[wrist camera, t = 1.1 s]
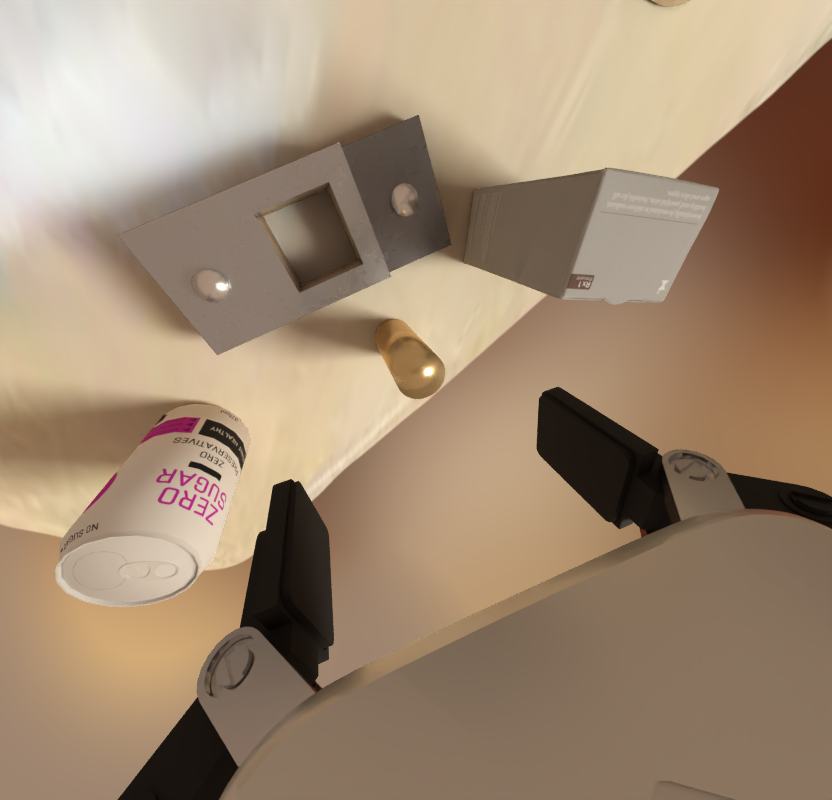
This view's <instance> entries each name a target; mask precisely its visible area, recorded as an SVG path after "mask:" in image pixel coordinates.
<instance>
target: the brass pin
mask: <svg viewBox="0 0 832 800" xmlns="http://www.w3.org/2000/svg"><path fill="white" fill-rule="evenodd" d="M375 343H376V346H377V348H378V350H379V352H380V353H381V355H382V357H383V359H384V361H385V363H386V365H387V367H388V369H389V371H390V372H391V374H392V376H393V378H394V380H395V382H396V384H397V386H398V388H399V389H400V391H401V392H402V393H403V394H404V395H406V396H407V397H410V398H414V399H421V398H425V397H428V396H430V395H432V394H433V393H435V392H436V391H437V390H438V389H439V388H440V386H441V385H442V383H443V381H444V377H445V368H444V364H443V362H442V361H441V360H440V358H439V357H438V356H437V355H436V354H435V353H434V352H433V351H432V350H431V349H430V348H429V347H428V346H427V345H426V344H425V343H424V342H423V341H422V340H421V339H420V338H419V337H418V336H417V335H416V333H415V332H414V331H413V330H412V329H411V328H410V327H409V326H408V325H407V324H406V323H405V322H403V321H401V320H398V319H390V320H387V321H385V322H383V323H382V324H381V325H380V326H379V327H378V329H377V331H376V333H375Z"/></svg>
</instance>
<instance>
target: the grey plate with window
mask: <svg viewBox="0 0 832 800" xmlns="http://www.w3.org/2000/svg"><path fill="white" fill-rule="evenodd" d="M325 189H328V192H329V194H330V196H331V199H332V201H333V203H334V206H335V208H336V210H337V213H338V215H339V217H340V220H341V222H342V224H343V227H344V229H345V231H346V234H347V236H348V238H349V241H350V243H351V245H352V248H353V250H354V252H355V254H356V257H357V259H358V260H356V261H354V262H352V263H350V264H347V265H345V266H343V267H341V268H338V269H336V270H334V271H332V272H330V273H327V274H325V275H323V276H321V277H318V278H316V279H314V280H312V281H309V282H307V283H305V284H303V285H301V283H300V282H299V280H298V278H297V276H296V275H295V273H294V271H293V269H292V267H291V266H290V264H289V262H288V260H287V258H286V257H285V255H284V253H283V251H282V250H281V248H280V246H279V244H278V242H277V241H276V239H275V237H274V235H273V234H272V232H271V230H270V228H269V226H268V225H267V223H266V221H265V219H264V217H263V216H265V215H267V214H269V213H272V212H274V211H276V210H279V209H281V208H283V207H286V206H288V205H290V204H293V203H295V202H297V201H300V200H302V199H304V198H307V197H309V196H311V195H314V194H316V193H318V192H321V191H323V190H325ZM117 236H118V237H119V238H120V239H121V241H122V242H123V243H124V244H125V245H126V247H127V248H128V249H129V250H130V251H131V253H132V254H133V255H134V256H135V257H136V259H137V260H138V261H139V262H140V263H141V265H142V266H143V267H144V268H145V269H146V271H147V272H148V273H149V274H150V275H151V277H152V278H153V279H154V280H155V281H156V282H157V284H158V285H159V286H160V287H161V288H162V290H163V291H164V292H165V293H166V294H167V296H168V297H169V298H170V299H171V300H172V302H173V303H174V304H175V305H176V306H177V308H178V309H179V310H180V311H181V312H182V314H183V315H184V316H185V317H186V318H187V320H188V321H189V322H190V323H191V324H192V325H193V327H194V328H195V329H196V330H197V331H198V333H199V334H200V335H201V336H202V337H203V339H204V340H205V341H206V342H207V343H208V345H209V346H210V347H211V348H212V349H213V351H214V352H215V353H216V354H217V355H219V354H221V353H223V352H225V351H228V350H230V349H232V348H234V347H236V346H239V345H241V344H243V343H245V342H247V341H250V340H252V339H254V338H256V337H259V336H261V335H263V334H265V333H267V332H270V331H272V330H274V329H276V328H278V327H281V326H283V325H285V324H287V323H289V322H292V321H294V320H296V319H298V318H301V317H303V316H305V315H307V314H309V313H312V312H314V311H316V310H318V309H320V308H323V307H325V306H327V305H329V304H331V303H334V302H336V301H338V300H340V299H342V298H345V297H347V296H349V295H351V294H354V293H356V292H358V291H360V290H362V289H365V288H367V287H369V286H371V285H373V284H376V283H378V282H380V281H382V280H384V279H387V278H389V277H391V275H390V273H389V272H391V271H393V270H395V269H398V268H400V267H402V266H404V265H406V264H409V263H411V262H413V261H415V260H417V259H420V258H422V257H424V256H426V255H429V254H431V253H433V252H435V251H437V250H440V249H442V248H444V247H446V246H448V245H451V241H450V237H449V233H448V229H447V226H446V222H445V218H444V214H443V210H442V206H441V202H440V198H439V194H438V190H437V186H436V182H435V178H434V174H433V170H432V166H431V162H430V158H429V154H428V150H427V146H426V142H425V138H424V134H423V130H422V126H421V122H420V118H419V115H417V116H415V117H412V118H410V119H407V120H405V121H403V122H400V123H398V124H396V125H393V126H391V127H388V128H386V129H384V130H381V131H379V132H377V133H374V134H372V135H369V136H367V137H365V138H362V139H360V140H358V141H355V142H353V143H351V144H348V145H346V146H343V147H341V144H340V142H338V143H336V144H334V145H331V146H329V147H326V148H324V149H322V150H319V151H317V152H315V153H312V154H310V155H307V156H305V157H303V158H300V159H298V160H296V161H293V162H291V163H288V164H286V165H284V166H281V167H279V168H277V169H274V170H272V171H269V172H267V173H265V174H262V175H260V176H257V177H255V178H253V179H250V180H248V181H246V182H243V183H241V184H238V185H236V186H234V187H231V188H229V189H227V190H224V191H222V192H219V193H217V194H215V195H212V196H210V197H207V198H205V199H203V200H200V201H198V202H196V203H193V204H191V205H188V206H186V207H184V208H181V209H179V210H177V211H174V212H172V213H169V214H167V215H165V216H162V217H160V218H157V219H155V220H153V221H150V222H148V223H146V224H143V225H141V226H138V227H136V228H134V229H131V230H129V231H127V232H124V233H122V234H119V235H117Z"/></svg>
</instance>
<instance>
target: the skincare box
mask: <svg viewBox="0 0 832 800" xmlns="http://www.w3.org/2000/svg"><path fill="white" fill-rule="evenodd" d="M718 191H719V188H716V187H712V186H707V185H702V184H698V183H693V182H688V181H682V180H678V179H673V178H668V177H663V176H657V175H651V174H646V173H640V172H634V171H627V170H621V169H614V168H605V169H602V170H597V171H590V172H584V173H579V174H573V175H567V176H561V177H554V178H547V179H540V180H534V181H527V182H520V183H514V184H507V185H499V186H494V187H486V188H480V189H475V190H474V193H473V201H472V208H471V215H470V222H469V229H468V235H467V242H466V249H465V256H464V263H465V264H469V265H472V266H474V267H477V268H480V269H482V270H485V271H488V272H490V273H493V274H495V275H498V276H501V277H504V278H506V279H509V280H512V281H515V282H517V283H519V284H522V285H524V286H527V287H530V288H532V289H535V290H537V291H540V292H543V293H545V294H548V295H551V296H553V297H556V298H559V299H574V300H605V301H606V302H607V303H610V304H620V303H623V302H625V301H627V302H657V303H658V302H662V301H663V300H664V299H665V297H666V295H667V293H668V291H669V289H670V287H671V285H672V283H673V281H674V279H675V277H676V275H677V273H678V271H679V269H680V267H681V265H682V264H683V261H684V260H685V258H686V256H687V254H688V252H689V250H690V248H691V246H692V244H693V242H694V241H695V239H696V237H697V235H698V233H699V231H700V229H701V228H702V225H703V224H704V222H705V220H706V218H707V216H708V214H709V212H710V209H711V208H712V205H713V203H714V201H715V199H716V196H717V194H718Z"/></svg>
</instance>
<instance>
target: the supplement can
mask: <svg viewBox="0 0 832 800" xmlns="http://www.w3.org/2000/svg"><path fill="white" fill-rule="evenodd" d="M249 444H250V436H249V431H248V428H247V427H246V426H245V424H244V423H243V422H242V420H241V419H240V418H238V417H237V416H235V415H234V414H232V413H231V412H229V411H228V410H225V409H222V408H219V407H216V406H213V405H204V404H190V405H185V406H180V407H176V408H175V409H173V410H171V411H169V412H168V413H166V414H164V415H163V416H162V418H161V419H160V420H159V421H158V422H157V424H156V425H155V426H154V427H153V428H152V430H151V431H150V432H149V433H148V435H147V436H146V437H145V438H144V439H143V441H142V442H141V443H140V444H139V445H138V447H137V448H136V449H135V450H134V451H133V453H132V454H131V455H130V456H129V458H128V459H127V460H126V461H125V462H124V464H123V465H122V466H121V467H120V468H119V470H118V471H117V472H116V473H115V475H114V476H113V477H112V478H111V479H110V481H109V482H108V483H107V484H106V485H105V487H104V488H103V489H102V490H101V492H100V493H99V494H98V495H97V496H96V498H95V499H94V500H93V501H92V502H91V504H90V505H89V506H88V507H87V508H86V510H85V511H84V512H83V513H82V515H81V516H80V517H79V518H78V519H77V521H76V522H75V523H74V524H73V525H72V527H71V528H70V529H69V531H68V532H67V533H66V535H65V536H64V537H63V539H62V540H61V541H60V560H59V564H58V565H57V567H56V568H55V569H56V582H57V583H58V584H59V585H60V586H61V588H62V589H63V590H64V591H65V592H66V593H67V594H69V595H71V596H73V597H75V598H77V599H79V600H81V601H84V602H88V603H93V604H98V605H102V606H113V607H133V606H141V605H148V604H154V603H157V602H160V601H163V600H167V599H170V598H173V597H175V596H176V595H178V594H180V593H182V592H183V591H185V590H187V589H188V588H189V587H190V586H191V585H192V584H193V583H194V582H195V581H196V579H197V578H198V575H199V574H200V573H201V572H202V571H203V570H204V569H205V568H206V567H207V566H208V565H209V564H210V563H211V562H212V561H213V559H214V558H215V555H216V551H217V548H218V545H219V542H220V538H221V535H222V532H223V529H224V526H225V522H226V519H227V516H228V513H229V509H230V506H231V503H232V500H233V497H234V493H235V490H236V487H237V484H238V481H239V477H240V474H241V471H242V468H243V464H244V461H245V458H246V455H247V452H248V448H249Z"/></svg>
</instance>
